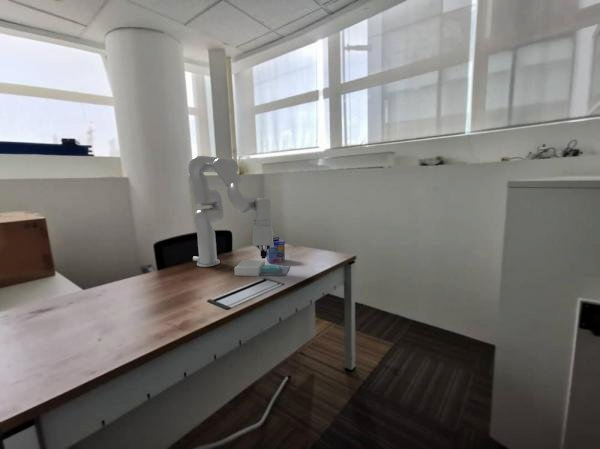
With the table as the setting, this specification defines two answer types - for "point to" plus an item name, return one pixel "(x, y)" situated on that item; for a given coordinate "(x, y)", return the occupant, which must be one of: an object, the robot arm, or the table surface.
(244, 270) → the grey flat block
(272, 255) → the ink cartridge box
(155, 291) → the table surface
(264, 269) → the teal tile
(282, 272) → the mat
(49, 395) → the table surface
